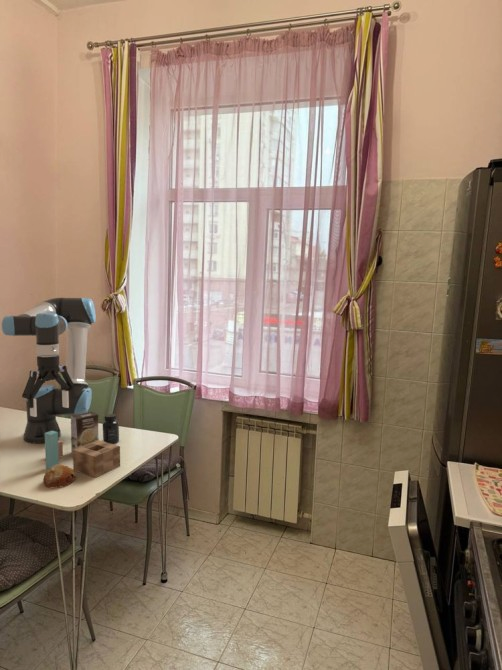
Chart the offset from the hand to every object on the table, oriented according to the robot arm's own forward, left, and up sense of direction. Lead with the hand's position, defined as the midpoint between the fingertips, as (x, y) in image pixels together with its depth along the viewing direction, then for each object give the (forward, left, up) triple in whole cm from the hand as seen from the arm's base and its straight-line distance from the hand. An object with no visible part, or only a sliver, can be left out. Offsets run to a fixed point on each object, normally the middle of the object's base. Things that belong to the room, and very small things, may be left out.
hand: (50, 411), depth 168 cm
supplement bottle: (-2, +31, -22) cm, 38 cm away
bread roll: (+12, -5, -23) cm, 26 cm away
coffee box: (-2, +17, -22) cm, 28 cm away
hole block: (+14, +9, -22) cm, 28 cm away
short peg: (-8, +8, -22) cm, 25 cm away
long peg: (0, 0, -22) cm, 22 cm away
